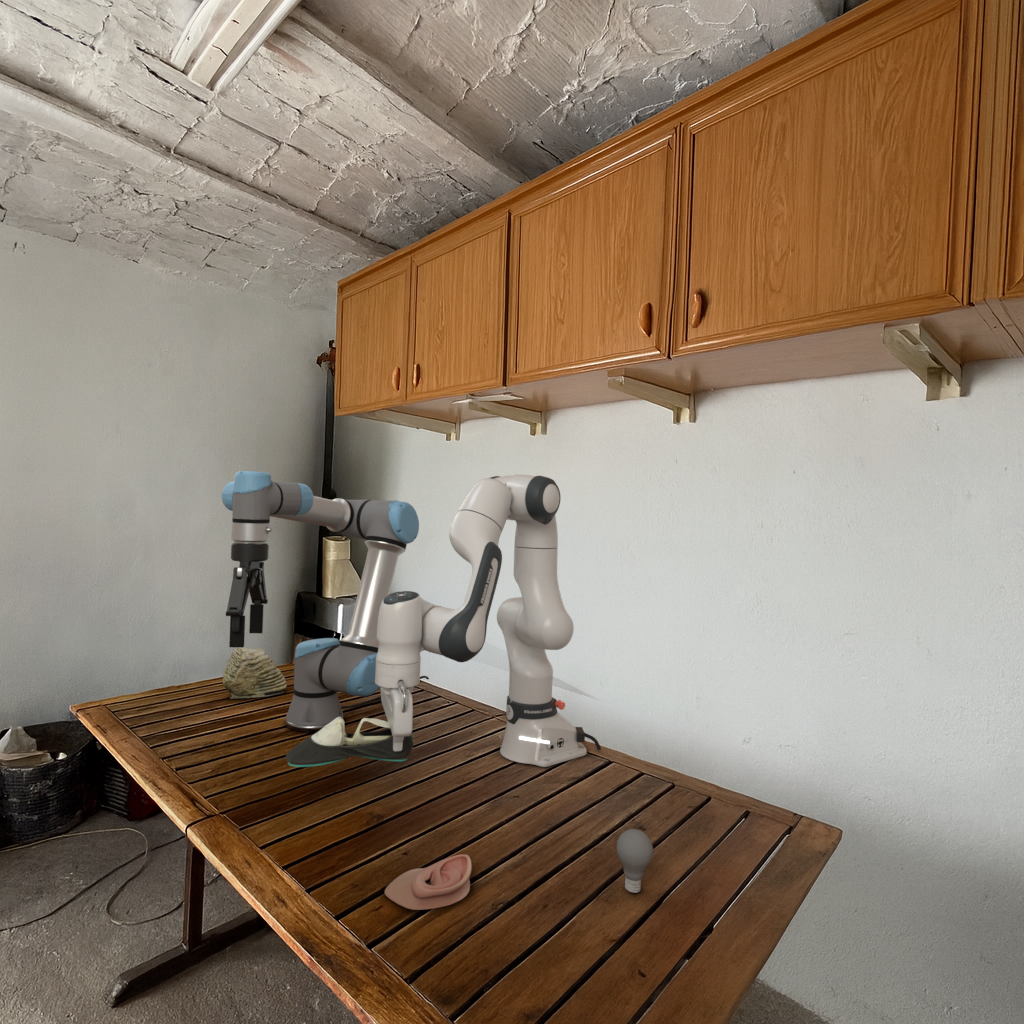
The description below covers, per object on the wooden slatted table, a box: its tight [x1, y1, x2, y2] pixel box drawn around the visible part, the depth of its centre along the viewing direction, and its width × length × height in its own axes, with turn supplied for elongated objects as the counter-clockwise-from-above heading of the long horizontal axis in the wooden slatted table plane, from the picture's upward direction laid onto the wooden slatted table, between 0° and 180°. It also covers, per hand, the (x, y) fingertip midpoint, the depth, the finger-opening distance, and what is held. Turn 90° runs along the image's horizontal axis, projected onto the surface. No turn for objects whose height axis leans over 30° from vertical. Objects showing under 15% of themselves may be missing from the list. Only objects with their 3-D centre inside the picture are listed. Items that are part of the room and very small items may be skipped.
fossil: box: [222, 646, 288, 699], centre depth 198 cm, size 9×18×15 cm, turn 132°
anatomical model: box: [384, 853, 473, 911], centre depth 104 cm, size 13×4×12 cm
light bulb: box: [615, 828, 654, 894], centre depth 106 cm, size 6×6×10 cm
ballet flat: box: [285, 717, 414, 768], centre depth 124 cm, size 8×24×8 cm, turn 109°
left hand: (246, 639), depth 138 cm, fingers open, 13 cm apart
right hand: (394, 742), depth 126 cm, fingers closed on ballet flat, 6 cm apart
